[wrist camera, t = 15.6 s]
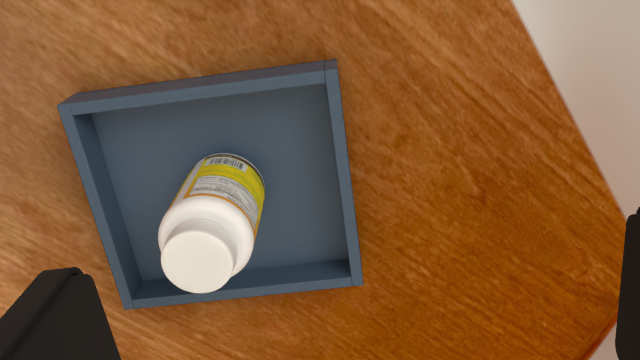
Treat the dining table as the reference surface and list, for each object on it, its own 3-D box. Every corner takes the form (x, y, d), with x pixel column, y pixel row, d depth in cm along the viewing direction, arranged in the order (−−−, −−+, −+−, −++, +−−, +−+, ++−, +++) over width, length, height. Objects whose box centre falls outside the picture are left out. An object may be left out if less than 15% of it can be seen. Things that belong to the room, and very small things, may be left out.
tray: (336, 58, 36) (337, 68, 34) (361, 263, 42) (363, 285, 40) (76, 92, 37) (56, 105, 35) (137, 286, 44) (124, 310, 41)
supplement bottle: (215, 233, 41) (181, 320, 32) (173, 171, 39) (123, 245, 30) (281, 201, 40) (266, 282, 30) (241, 136, 38) (211, 201, 29)
